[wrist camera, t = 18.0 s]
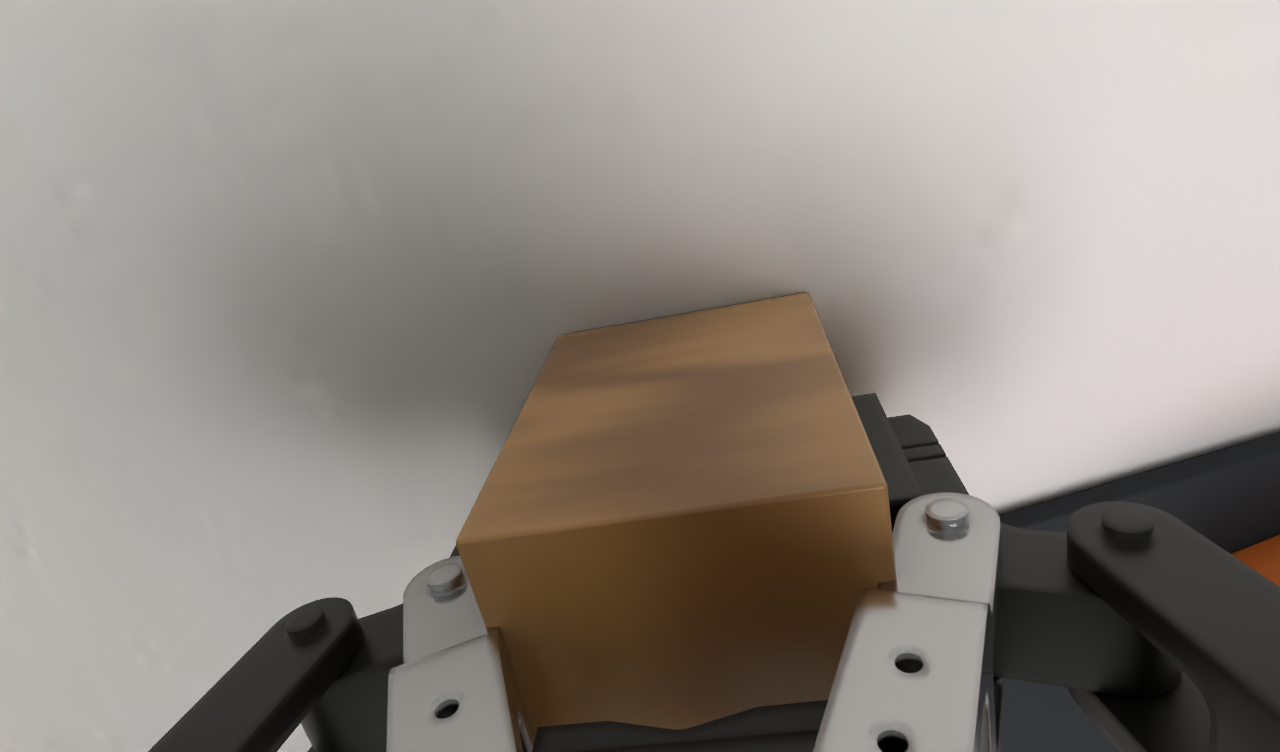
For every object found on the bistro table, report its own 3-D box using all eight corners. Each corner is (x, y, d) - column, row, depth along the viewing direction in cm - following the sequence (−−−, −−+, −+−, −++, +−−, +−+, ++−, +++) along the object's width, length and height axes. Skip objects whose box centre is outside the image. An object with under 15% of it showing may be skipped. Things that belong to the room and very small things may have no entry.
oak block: (612, 539, 17) (557, 831, 11) (557, 335, 15) (453, 542, 9) (837, 510, 17) (920, 805, 10) (808, 291, 15) (887, 483, 8)
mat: (742, 857, 21) (743, 879, 21) (613, 629, 18) (611, 647, 18) (1613, 671, 17) (1644, 692, 16) (1621, 329, 14) (1660, 340, 13)
